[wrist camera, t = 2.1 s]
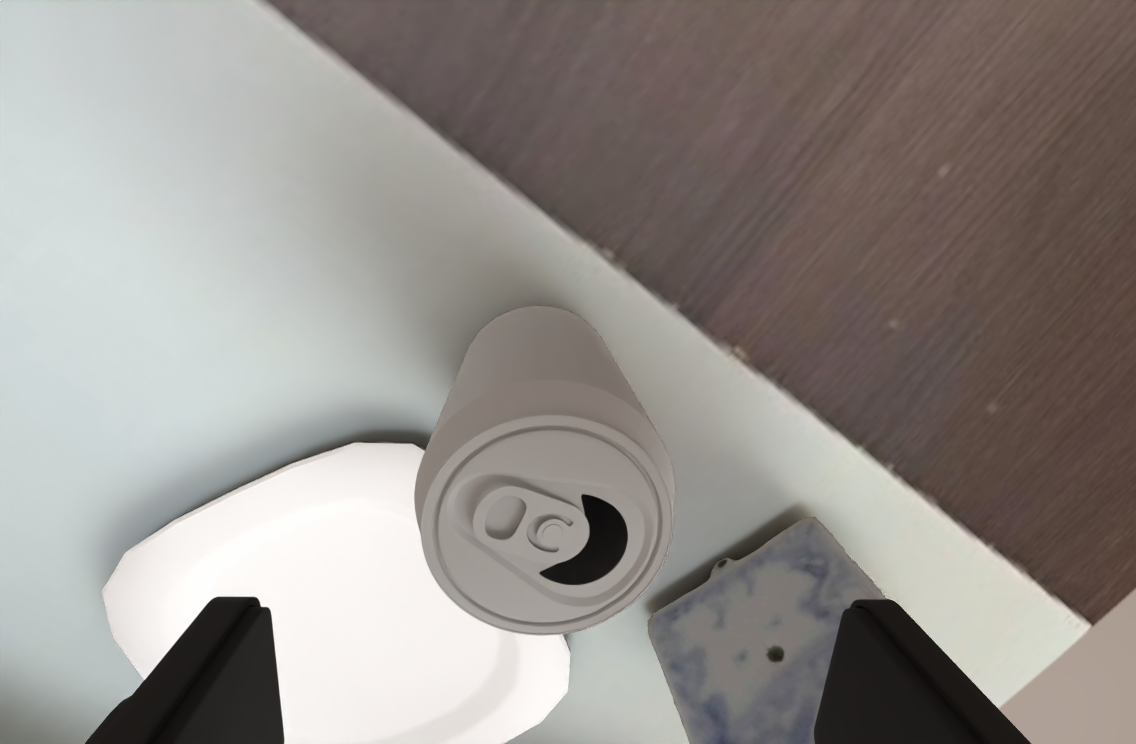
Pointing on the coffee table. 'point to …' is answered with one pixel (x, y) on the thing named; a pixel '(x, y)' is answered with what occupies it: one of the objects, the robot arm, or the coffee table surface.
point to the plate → (340, 607)
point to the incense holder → (759, 639)
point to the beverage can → (543, 480)
